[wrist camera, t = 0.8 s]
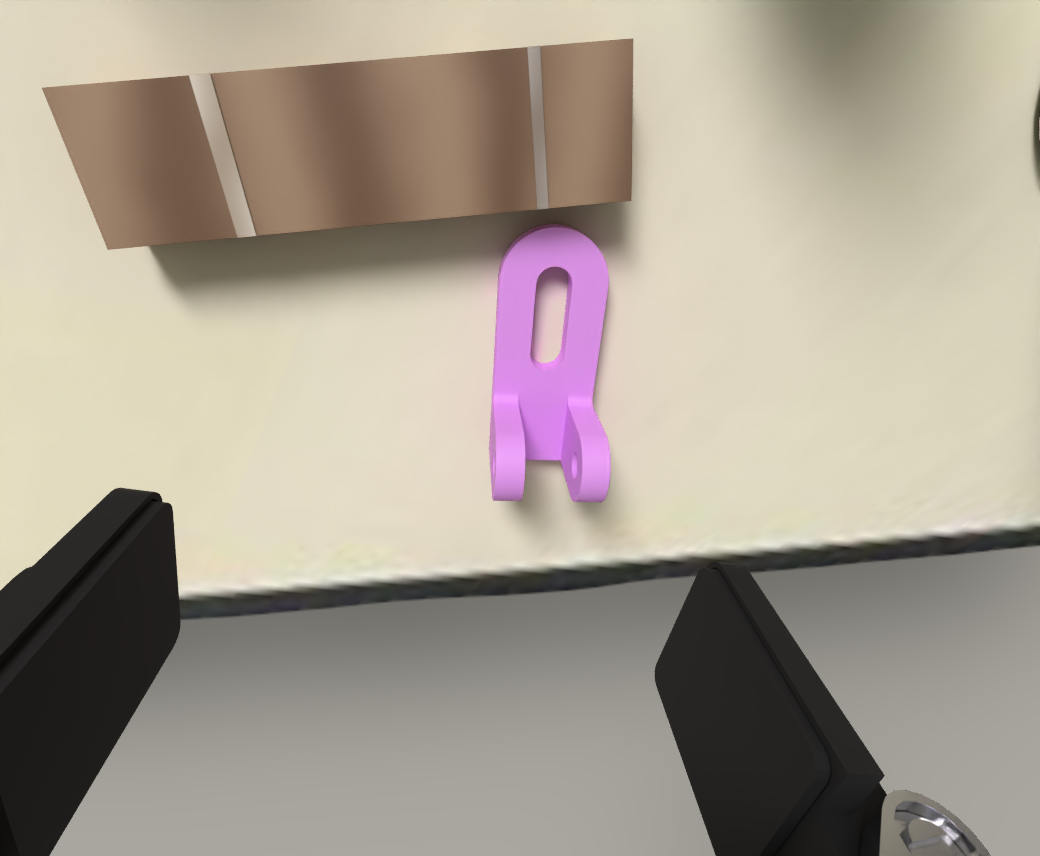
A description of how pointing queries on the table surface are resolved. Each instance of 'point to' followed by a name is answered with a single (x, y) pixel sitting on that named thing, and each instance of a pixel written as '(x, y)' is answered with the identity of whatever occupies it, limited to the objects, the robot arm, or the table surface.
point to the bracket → (549, 368)
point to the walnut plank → (351, 142)
